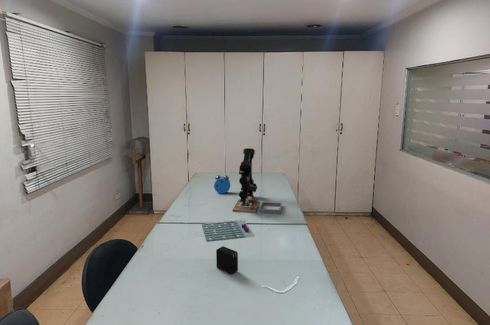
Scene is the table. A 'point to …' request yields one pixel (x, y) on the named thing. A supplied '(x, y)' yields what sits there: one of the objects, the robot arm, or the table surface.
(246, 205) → the cylinder
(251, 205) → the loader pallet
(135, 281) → the table surface
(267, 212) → the gray square frame
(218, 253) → the electronic device
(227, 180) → the alarm clock
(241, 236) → the calendar
